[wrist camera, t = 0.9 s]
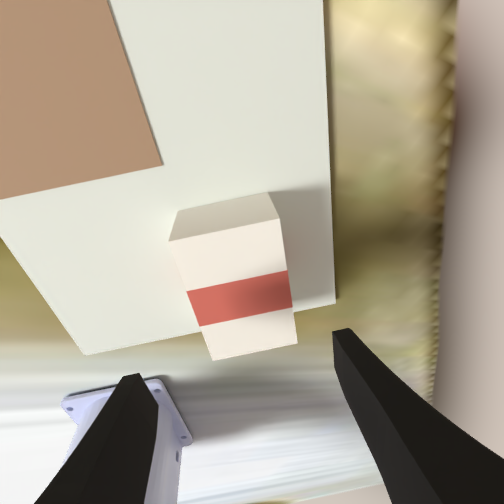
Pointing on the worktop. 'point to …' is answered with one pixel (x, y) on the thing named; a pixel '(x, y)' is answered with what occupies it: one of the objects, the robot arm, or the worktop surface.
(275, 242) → the card box
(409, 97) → the worktop surface
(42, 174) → the mat
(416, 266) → the worktop surface
